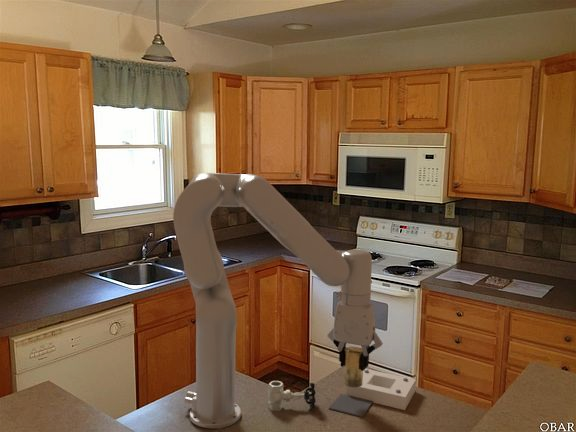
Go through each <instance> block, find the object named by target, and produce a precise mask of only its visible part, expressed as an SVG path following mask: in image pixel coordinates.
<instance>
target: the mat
mask: <svg viewBox="0 0 576 432" xmlns="http://www.w3.org/2000/svg"><path fill="white" fill-rule="evenodd" d="M373 404H374V403H373V401H371V400H367V399H362V398H358V397H354V396H350V395H346V393H345V394H344V393H340V394H339V395H338V396H337V397H336V399H334V401H333V402H332V404H330V406H329V407H328V409H329V410H331V411H335V412H339V413H343V414H347V415H351V416H354V417H358V418H363V417H365V414H366V413H367V411H368V410H369V408H370V407H372V405H373Z"/></svg>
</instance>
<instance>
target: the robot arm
mask: <svg viewBox="0 0 576 432" xmlns="http://www.w3.org/2000/svg"><path fill="white" fill-rule="evenodd" d="M218 207H222V208H223V207H225V208H226V207H227V208H228V207H229V208H238V207H239V208H244V209H245V210H246V212H248V214H250V215H251V216H252V217H253V218H254V219H255V220H256V221H257V222H258V223H259V224H260V225H261V226H263V228H264V229H265V230H266V231H268V232H269V234H270V235H272V237H273V238H275V240H277V241H278V243H280V245H282V246H283V247H284V248H285V249H287V250H289V252H291V253H293V254H294V256H296V257H297V258H298V259H299V260H300V261H301V262H302V263H303V264H304V265H306V267H308V269H310V270H311V271H312V273H313V274H314V275H315V276H316V277H317V278H318V279H319V280H320V281H322V282H323V283H324V284H325V285H327V286H329V287H339V286H340V291H336V292H335V296H336V297H337V298H339V301H338V302H337V304H336V309H335V314H334V320H333V321H334V322H333V327H332V329H331V331H329V332H328V334H327V337H328V339H329V340H330V341H331V342H333V345H334V346H335V347H336V348H337V351H338V361H339V363H340V367H342V368H344V366H345V348H347V347H346V346H347V344H350V345H355V346H360V348H362V351H363V355H362V356H361V371H364V370H365V369H367V368H369V364H370V354H371V353H372V352H374V351H375V350H377V349H379V348H381V347H382V346H383V344H384V343H383V342H382V339H381V338H380V337H379V336H378V334H377V331H376V318H375V310H374V305H373V303H371V295H372V293H371V292H372V265H373V264H372V263H373V258H372V255H371V253H370V252H369V251H368V250H363V249H348V250H338V249H335V248H334V247H333V246H332V245H331V244H330V242H328V241H327V240H326V239H325V238H324V237H323V236H322V235H321V234H320V233H319V232H318V231H317V230H316V229H315V228H314V227H313V226H312V225H311V224H310V222H309V221H308V220H307V219H306V218H305V217H304V216H303V215H302V214H301V213H300V211H298V210H297V209H296V208H295V207H294V206H293V205H292V204H291V203H290V202H289V201H288V200H287V199H286V198H285V197H284V196H283V195H282V194H281V193H280V192H279V191H278V190H277V189H276V188H275V187H274V186H273V185H272V184H271V183H270V182H269V181H268V180H267V179H266V178H264V177H262V176H260V175H257V174H252V173H246V174H244V173H243V174H241V173H239V174H238V173H237V174H236V173H217V172H201V173H198V174H197V175H195V176H193V178H192V179H190V182H189V184H188V185H187V186H186V187H185V188H184V189H183V190H182V191H181V193H180V194H179V196H178V198H177V199H176V202H175V205H174V208H173V215H172V219H173V227H174V232H175V235H176V239H177V244H178V247H179V248H178V249H179V252H180V254H181V259H182V263H183V269H184V270H183V271H184V274H185V277H186V278H187V279H186V280H187V281H189V286H190V289H191V293H192V297H193V299H194V302H195V324H196V325H195V328H196V329H195V332H196V333H195V359H196V360H195V365H196V367H195V370H196V371H195V391H191V390H188V391H187V392H186V395H185V397H184V403H186V404H191V405H192V407H191V409H190V410H189V419H190V422H191V423H193V424H194V425H196V426H198V427H201V428H204V429H222V428H226V427H229V426H232V425H234V424H235V423H236V422H238V421H239V420H240V418H241V415H242V410H241V407H240V406H239V404H237V403H236V402H235V399H236V395H235V394H236V341H237V340H236V339H237V338H236V336H237V335H236V333H237V325H238V324H237V323H238V322H237V321H238V315H237V314H238V313H237V306H236V303H235V300H234V298H233V295H232V292H231V288H230V285H229V281H228V277H227V273H226V271H225V267H224V260H223V258H222V255H221V253H220V251H219V249H218V247H217V244H216V240H215V235H214V231H213V227H212V226H213V225H212V223H211V220H212V219H211V217H212V213H213V212H214V211H215V210H216V208H218ZM372 342H374V343H373V344H372Z"/></svg>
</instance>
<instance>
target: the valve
mask: <svg viewBox="0 0 576 432" xmlns="http://www.w3.org/2000/svg"><path fill="white" fill-rule="evenodd" d="M315 388H316V387H315V383H314V382H309V387H307V388H306V389H305V391H304V392H303V393H301V391H299V392H298V391H295V392H292V391H291V389H286V390H284V383H283V382H282V381H279V380H272V381H271V382H269V383H268V393H267V400H268V403H267V408H268V409H269V410H271V411H272V412H280V411H281V410H282V409H283V408H284V401H285V402H286V403H291V400H293V399H294V400H301V399H303V400H304V401H305V403H306V404H307V405H309V408H310V409H313V410H315V409H316V404H315V403H316V401H317V400H316V396H315V395H316V389H315Z"/></svg>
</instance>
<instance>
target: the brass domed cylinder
mask: <svg viewBox="0 0 576 432" xmlns="http://www.w3.org/2000/svg"><path fill="white" fill-rule="evenodd" d="M362 355H363V351H362V347H359V346H348V347H346V348H345V365H344V366H343V369H344V373H343V374H344V375H343V384H344V385H345V386H346V387H347V386H349V387H360V386H362V384H363V371H361V356H362Z"/></svg>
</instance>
